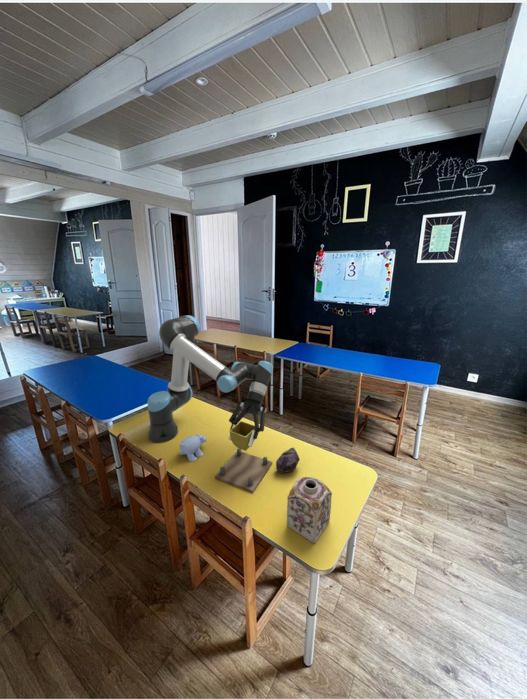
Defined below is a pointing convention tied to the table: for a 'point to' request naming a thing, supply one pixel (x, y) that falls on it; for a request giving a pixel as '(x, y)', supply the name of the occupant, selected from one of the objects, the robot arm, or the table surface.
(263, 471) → the standoff plate
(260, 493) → the table surface
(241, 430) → the flower pot
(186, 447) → the hippopotamus toy
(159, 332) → the robot arm
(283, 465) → the rock
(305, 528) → the decorative jar
